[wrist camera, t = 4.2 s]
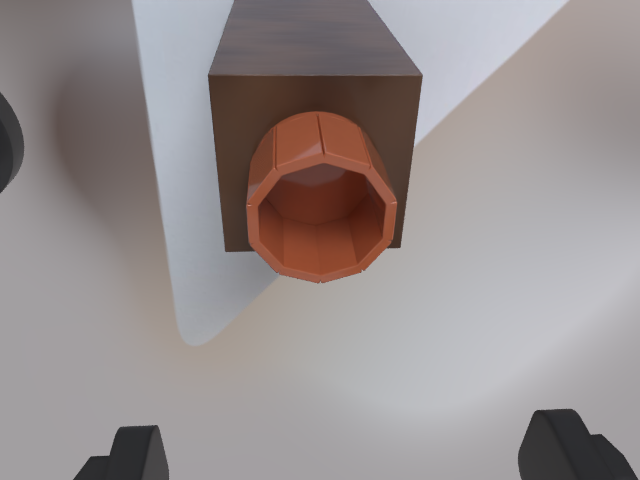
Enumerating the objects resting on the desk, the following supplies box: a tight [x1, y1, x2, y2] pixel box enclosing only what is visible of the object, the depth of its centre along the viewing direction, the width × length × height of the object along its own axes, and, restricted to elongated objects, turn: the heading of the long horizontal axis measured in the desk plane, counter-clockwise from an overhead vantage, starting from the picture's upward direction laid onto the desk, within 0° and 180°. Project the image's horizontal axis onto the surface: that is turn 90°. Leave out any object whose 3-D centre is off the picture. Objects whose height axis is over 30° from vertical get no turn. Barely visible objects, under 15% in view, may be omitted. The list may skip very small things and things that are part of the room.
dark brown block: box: [208, 0, 423, 252], centre depth 28 cm, size 8×8×16 cm
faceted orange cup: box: [246, 111, 397, 283], centre depth 20 cm, size 5×5×4 cm
